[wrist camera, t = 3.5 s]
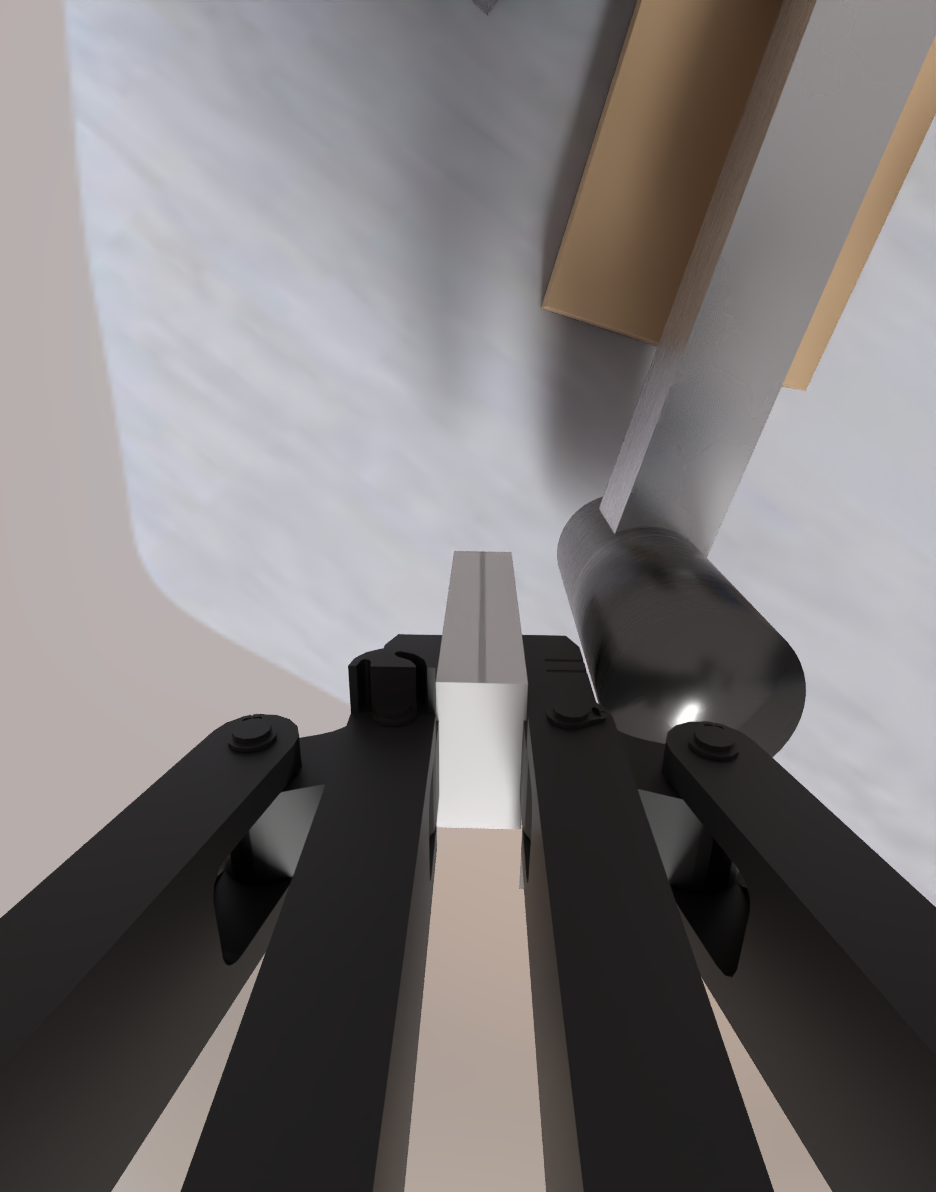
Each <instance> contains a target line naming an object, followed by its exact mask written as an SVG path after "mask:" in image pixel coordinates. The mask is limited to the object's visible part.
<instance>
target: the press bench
mask: <svg viewBox="0 0 936 1192" xmlns="http://www.w3.org/2000/svg"><path fill="white" fill-rule="evenodd" d="M783 1H784V0H637V2H636V6H635V9H634V12H633V15H632V18H631V22H630V25H629V28H628V31H627V34H626V38H625V41H624V44H623V47H622V50H621V54H620V57H619V60H618V63H617V66H616V70H615V73H614V76H613V79H612V82H611V86H610V89H609V92H608V95H607V98H606V102H605V105H604V108H603V111H602V114H601V118H600V121H599V124H598V127H597V130H596V134H595V137H594V140H593V143H592V146H591V150H590V153H589V156H588V159H587V162H586V166H585V169H584V172H583V175H582V178H581V182H580V185H579V188H578V191H577V194H576V198H575V201H574V204H573V207H572V210H571V214H570V217H569V220H568V223H567V226H566V230H565V233H564V236H563V239H562V242H561V246H560V249H559V252H558V255H557V258H556V262H555V265H554V268H553V271H552V274H551V278H550V281H549V284H548V287H547V290H546V294H545V297H544V300H543V303H542V306H541V308H543V309H546V310H549V311H552V312H555V313H558V314H561V315H564V316H567V317H570V318H573V319H576V320H579V321H582V322H585V323H588V324H591V325H594V326H597V327H601V328H604V329H607V330H610V331H613V332H616V333H619V334H622V335H625V336H628V337H631V338H634V339H637V340H640V341H643V342H646V343H649V344H652V345H655V346H658V345H659V342H660V339H661V336H662V334H663V331H664V328H665V325H666V323H667V320H668V317H669V314H670V312H671V309H672V306H673V303H674V301H675V298H676V295H677V292H678V290H679V287H680V284H681V281H682V279H683V276H684V273H685V270H686V268H687V265H688V262H689V259H690V257H691V254H692V251H693V248H694V246H695V243H696V240H697V237H698V235H699V232H700V229H701V226H702V224H703V221H704V218H705V215H706V213H707V210H708V207H709V204H710V202H711V199H712V196H713V193H714V191H715V188H716V185H717V182H718V180H719V177H720V174H721V171H722V169H723V166H724V163H725V160H726V158H727V155H728V152H729V149H730V147H731V144H732V141H733V138H734V136H735V133H736V130H737V127H738V125H739V122H740V119H741V116H742V114H743V111H744V108H745V105H746V103H747V100H748V97H749V94H750V92H751V89H752V86H753V83H754V81H755V78H756V75H757V72H758V70H759V67H760V64H761V61H762V59H763V56H764V53H765V50H766V48H767V45H768V42H769V39H770V37H771V34H772V31H773V28H774V26H775V23H776V20H777V17H778V15H779V12H780V9H781V6H782V4H783ZM935 114H936V35H935V38H934V40H933V42H932V44H931V47H930V49H929V51H928V53H927V56H926V58H925V60H924V63H923V65H922V67H921V69H920V72H919V74H918V76H917V79H916V81H915V83H914V85H913V88H912V90H911V92H910V95H909V97H908V99H907V101H906V104H905V106H904V108H903V111H902V113H901V115H900V117H899V120H898V122H897V124H896V127H895V129H894V131H893V133H892V136H891V138H890V140H889V142H888V145H887V147H886V149H885V152H884V154H883V156H882V158H881V161H880V163H879V165H878V168H877V170H876V172H875V174H874V177H873V179H872V181H871V184H870V186H869V188H868V190H867V193H866V195H865V197H864V200H863V202H862V204H861V206H860V209H859V211H858V213H857V216H856V218H855V220H854V222H853V225H852V227H851V229H850V231H849V234H848V236H847V238H846V241H845V243H844V245H843V247H842V250H841V252H840V254H839V257H838V259H837V261H836V263H835V266H834V268H833V270H832V273H831V275H830V277H829V279H828V282H827V284H826V286H825V289H824V291H823V293H822V295H821V298H820V300H819V302H818V305H817V307H816V309H815V311H814V314H813V316H812V318H811V321H810V323H809V325H808V327H807V330H806V332H805V334H804V336H803V339H802V341H801V343H800V346H799V348H798V350H797V352H796V355H795V357H794V359H793V362H792V364H791V366H790V368H789V371H788V373H787V375H786V378H785V380H784V382H783V384H782V387H788V388H793V389H799V390H804V391H806V389H807V387H808V385H809V383H810V380H811V378H812V376H813V374H814V372H815V370H816V368H817V366H818V363H819V361H820V359H821V357H822V355H823V353H824V351H825V348H826V346H827V344H828V342H829V340H830V338H831V336H832V334H833V331H834V329H835V327H836V325H837V323H838V321H839V319H840V317H841V314H842V312H843V310H844V308H845V306H846V304H847V302H848V299H849V297H850V295H851V293H852V291H853V289H854V287H855V285H856V282H857V280H858V278H859V276H860V274H861V272H862V270H863V268H864V265H865V263H866V261H867V259H868V257H869V255H870V253H871V250H872V248H873V246H874V244H875V242H876V240H877V238H878V236H879V233H880V231H881V229H882V227H883V225H884V223H885V221H886V218H887V216H888V214H889V212H890V210H891V208H892V206H893V204H894V201H895V199H896V197H897V195H898V193H899V191H900V189H901V187H902V184H903V182H904V180H905V178H906V176H907V174H908V172H909V169H910V167H911V165H912V163H913V161H914V159H915V157H916V155H917V152H918V150H919V148H920V146H921V144H922V142H923V140H924V138H925V135H926V133H927V131H928V129H929V127H930V125H931V123H932V120H933V118H934V116H935Z"/></svg>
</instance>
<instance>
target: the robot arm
mask: <svg viewBox="0 0 936 1192" xmlns="http://www.w3.org/2000/svg"><path fill="white" fill-rule="evenodd" d="M348 671H349V688H350V704H351V715H350V718H349V721H348V723H347V726H345V727H343V728H341V729H338V730H336V731H333V732H328V733H324V734H320V735H314V736H308V737H303V738H299V733H298V727H297V725H295V724H294V723H293V722H292V721H291V720H290V719H287V718H284V717H281V716H278V715H265V714H254V715H252V716H251V715H248V716H243V717H241V718H238V719H236V720H233V721H230V722H227V723H225V724H224V725H222V726H221V727H219V728H217V729H216V730H214V731H213V732H212V733H211V734H210V735H208V736H207V737H206V738H205V739H204V740H203V741H202V742H201V743H199V744H198V745H197V746H196V747H195V748H194V749H192V750H191V751H190V752H189V753H188V754H187V755H186V756H184V757H183V758H182V759H181V760H180V761H179V762H178V763H177V764H175V765H174V766H173V767H172V768H171V769H170V770H169V771H167V772H166V773H165V774H164V775H163V776H162V777H161V778H159V779H158V780H157V781H156V782H155V783H154V784H153V785H151V786H150V787H149V788H148V789H147V790H146V791H145V792H144V793H142V794H141V795H140V796H139V797H138V798H137V799H136V800H135V801H133V802H132V803H131V804H130V805H129V806H128V807H126V808H125V809H124V810H123V811H122V812H121V813H120V814H118V815H117V816H116V817H115V818H114V819H113V820H112V821H111V822H109V824H107V825H106V826H105V827H104V828H103V829H102V830H100V831H99V832H98V833H97V834H96V835H95V836H94V837H92V838H91V839H90V840H89V841H88V842H87V843H85V844H84V845H83V846H82V847H81V848H80V849H79V850H78V851H76V852H75V853H74V854H73V855H72V856H71V857H70V858H68V859H67V860H66V861H65V862H64V863H63V864H62V865H61V866H59V867H58V868H57V869H56V870H55V871H54V872H53V873H51V874H50V875H49V876H48V877H47V878H46V879H45V880H43V881H42V882H41V883H40V884H39V885H38V886H37V887H36V888H34V889H33V890H32V891H31V892H30V893H29V894H27V895H26V896H25V897H24V898H23V899H22V900H21V901H19V903H17V904H16V905H15V906H14V907H13V908H12V909H10V910H9V911H8V912H7V913H6V914H5V915H4V916H2V917H1V918H0V1192H111V1191H112V1189H113V1188H114V1186H115V1185H116V1183H117V1182H118V1180H119V1179H120V1177H121V1176H122V1174H123V1172H124V1171H125V1169H126V1168H127V1166H128V1165H129V1163H130V1162H131V1160H132V1158H133V1157H134V1155H135V1154H136V1152H137V1151H138V1149H139V1147H140V1146H141V1144H142V1143H143V1141H144V1140H145V1138H146V1137H147V1135H148V1134H149V1132H150V1131H151V1129H152V1127H153V1126H154V1124H155V1123H156V1121H157V1120H158V1118H159V1117H160V1115H161V1113H162V1112H163V1110H164V1109H165V1107H166V1106H167V1104H168V1103H169V1101H170V1100H171V1098H172V1096H173V1095H174V1093H175V1092H176V1090H177V1089H178V1087H179V1086H180V1084H181V1082H182V1081H183V1079H184V1078H185V1076H186V1075H187V1073H188V1071H189V1070H190V1068H191V1067H192V1065H193V1064H194V1062H195V1061H196V1059H197V1058H198V1056H199V1054H200V1053H201V1051H202V1050H203V1048H204V1047H205V1045H206V1044H207V1042H208V1040H209V1039H210V1037H211V1036H212V1034H213V1033H214V1031H215V1030H216V1028H217V1027H218V1025H219V1023H220V1022H221V1020H222V1019H223V1017H224V1016H225V1014H226V1013H227V1011H228V1010H229V1008H230V1006H231V1005H232V1003H233V1002H234V1000H235V999H236V997H237V995H238V994H239V992H240V991H241V989H242V988H243V986H244V985H245V983H246V982H247V980H248V979H249V977H250V975H251V974H252V972H253V971H254V969H255V968H256V966H257V965H258V963H259V961H260V960H261V958H262V957H263V955H264V954H265V956H264V959H263V962H262V965H261V968H260V970H259V973H258V976H257V979H256V981H255V984H254V987H253V990H252V993H251V995H250V998H249V1001H248V1004H247V1007H246V1010H245V1012H244V1015H243V1018H242V1021H241V1024H240V1026H239V1029H238V1032H237V1035H236V1038H235V1041H234V1043H233V1046H232V1049H231V1052H230V1054H229V1057H228V1060H227V1063H226V1066H225V1069H224V1071H223V1074H222V1077H221V1080H220V1083H219V1085H218V1088H217V1091H216V1094H215V1097H214V1100H213V1102H212V1105H211V1108H210V1111H209V1113H208V1116H207V1120H206V1122H205V1125H204V1127H203V1131H202V1133H201V1136H200V1139H199V1142H198V1144H197V1147H196V1150H195V1153H194V1156H193V1158H192V1161H191V1164H190V1167H189V1170H188V1173H187V1175H186V1178H185V1181H184V1184H183V1187H182V1189H181V1192H404V1186H405V1176H406V1165H407V1154H408V1145H409V1134H410V1123H411V1113H412V1102H413V1092H414V1082H415V1071H416V1060H417V1050H418V1040H419V1029H420V1018H421V1009H422V998H423V988H424V977H425V966H426V956H427V946H428V934H429V924H430V914H431V904H432V894H433V883H434V873H435V862H436V852H437V833H436V832H437V827H456V828H491V829H521V817H522V826H523V827H522V847H521V866H520V867H521V868H520V887H519V889H524V895H525V908H526V922H527V936H528V949H529V962H530V977H531V990H532V1004H533V1018H534V1032H535V1044H536V1059H537V1071H538V1085H539V1100H540V1113H541V1127H542V1141H543V1154H544V1168H545V1181H546V1192H774V1190H773V1187H772V1184H771V1181H770V1178H769V1175H768V1172H767V1170H766V1166H765V1163H764V1161H763V1158H762V1155H761V1152H760V1149H759V1146H758V1143H757V1140H756V1137H755V1134H754V1131H753V1128H752V1125H751V1122H750V1119H749V1116H748V1113H747V1110H746V1108H745V1105H744V1102H743V1099H742V1096H741V1093H740V1090H739V1087H738V1084H737V1081H736V1078H735V1075H734V1072H733V1069H732V1066H731V1063H730V1061H729V1058H728V1055H727V1051H726V1048H725V1046H724V1043H723V1040H722V1037H721V1034H720V1031H719V1028H718V1025H717V1022H716V1019H715V1016H714V1013H713V1010H712V1007H711V1005H710V1001H709V998H708V995H707V993H706V990H705V987H704V984H703V981H702V979H703V980H704V982H705V984H706V985H707V987H708V989H709V990H710V992H711V993H712V995H713V997H714V998H715V1000H716V1001H717V1003H718V1005H719V1007H720V1008H721V1010H722V1011H723V1013H724V1015H725V1016H726V1018H727V1019H728V1021H729V1023H730V1024H731V1026H732V1028H733V1029H734V1031H735V1033H736V1034H737V1036H738V1038H739V1039H740V1041H741V1043H742V1044H743V1046H744V1048H745V1049H746V1051H747V1052H748V1054H749V1056H750V1057H751V1059H752V1061H753V1062H754V1064H755V1065H756V1067H757V1069H758V1070H759V1072H760V1074H761V1075H762V1077H763V1078H764V1080H765V1082H766V1084H767V1085H768V1086H769V1088H770V1090H771V1092H772V1093H773V1095H774V1097H775V1098H776V1100H777V1102H778V1103H779V1105H780V1106H781V1108H782V1110H783V1111H784V1113H785V1115H786V1116H787V1118H788V1119H789V1121H790V1123H791V1124H792V1126H793V1128H794V1129H795V1131H796V1133H797V1134H798V1136H799V1137H800V1139H801V1141H802V1143H803V1144H804V1146H805V1147H806V1149H807V1151H808V1152H809V1154H810V1156H811V1157H812V1159H813V1160H814V1162H815V1164H816V1165H817V1167H818V1169H819V1170H820V1172H821V1174H822V1175H823V1177H824V1179H825V1180H826V1182H827V1183H828V1185H829V1187H830V1188H831V1190H832V1192H936V907H935V906H934V905H933V904H931V903H930V902H929V901H928V900H927V899H926V898H925V897H924V896H923V895H922V894H921V893H919V892H918V891H917V890H916V889H915V888H914V887H913V886H912V885H911V884H910V883H909V882H907V881H906V880H905V879H904V878H903V877H902V876H901V875H900V874H899V873H898V872H897V871H895V870H894V869H893V868H892V867H891V866H890V865H889V864H888V863H887V862H886V861H885V860H883V859H882V858H881V857H880V856H879V855H878V854H877V853H876V852H875V851H874V850H873V849H871V848H870V847H869V846H868V845H867V844H866V843H865V842H864V841H863V840H862V839H861V838H859V837H858V836H857V835H856V834H855V833H854V832H853V831H852V830H851V829H850V828H848V827H847V826H846V825H845V824H844V823H843V822H842V821H841V820H840V819H839V818H838V817H836V816H835V815H834V814H833V813H832V812H831V811H830V810H829V809H828V808H827V807H826V806H824V805H823V804H822V803H821V802H820V801H819V800H818V799H817V798H816V797H815V796H814V795H812V794H811V793H810V792H809V791H808V790H807V789H806V788H805V787H804V786H803V785H802V784H800V783H799V782H798V781H797V780H796V779H795V778H794V777H793V776H792V775H791V774H790V773H788V772H787V771H786V770H785V769H784V768H783V767H782V766H781V765H780V764H779V763H778V762H776V761H775V760H774V759H773V758H772V757H771V756H770V755H769V754H768V753H767V752H766V751H764V750H763V749H762V748H761V747H760V746H759V745H758V744H757V743H756V742H755V741H753V740H752V739H751V738H749V737H748V736H746V735H745V734H743V733H742V732H740V731H738V730H735V729H733V728H730V727H728V726H726V725H723V724H719V723H713V722H708V721H702V722H686V723H682V724H678V725H675V726H674V727H673V728H672V729H670V730H669V731H668V732H667V737H666V743H665V744H663V743H658V742H654V741H649V740H644V739H640V738H637V737H633V736H630V735H627V734H625V733H623V732H620V731H618V730H617V727H616V724H615V721H614V718H613V717H612V715H611V714H610V713H609V711H608V710H607V709H606V708H604V707H603V706H601V705H599V704H598V703H596V700H595V697H594V694H593V691H592V687H591V684H590V681H589V678H588V674H587V673H586V668H585V664H584V662H583V658H582V655H581V651H580V648H579V647H578V646H577V645H576V644H575V643H574V642H572V641H571V640H570V639H569V638H568V637H566V636H549V635H522V633H521V625H520V617H519V609H518V601H517V593H516V585H515V577H514V569H513V561H512V553H511V552H476V551H454V556H453V563H452V570H451V577H450V585H449V592H448V599H447V606H446V613H445V620H444V627H443V634H442V635H406V634H398V635H397V636H396V637H394V638H393V639H392V640H391V641H389V642H388V643H387V644H386V645H385V646H384V649H378V650H374V651H370V652H366V653H364V654H362V655H360V656H358V657H356V658H354V660H353V661H352V662H351V663H350V664H349V665H348ZM265 952H266V953H265ZM701 977H702V978H701Z"/></svg>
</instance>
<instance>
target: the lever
mask: <svg viewBox="0 0 936 1192" xmlns="http://www.w3.org/2000/svg"><path fill="white" fill-rule="evenodd" d="M935 35H936V0H784V1H783V4H782V6H781V9H780V12H779V15H778V17H777V20H776V23H775V26H774V28H773V31H772V34H771V37H770V39H769V42H768V45H767V48H766V50H765V53H764V56H763V59H762V61H761V64H760V67H759V70H758V72H757V75H756V78H755V81H754V83H753V86H752V89H751V92H750V94H749V97H748V100H747V103H746V105H745V108H744V111H743V114H742V116H741V119H740V122H739V125H738V127H737V130H736V133H735V136H734V138H733V141H732V144H731V147H730V149H729V152H728V155H727V158H726V160H725V163H724V166H723V169H722V171H721V174H720V177H719V180H718V182H717V185H716V188H715V191H714V193H713V196H712V199H711V202H710V204H709V207H708V210H707V213H706V215H705V218H704V221H703V224H702V226H701V229H700V232H699V235H698V237H697V240H696V243H695V246H694V248H693V251H692V254H691V257H690V259H689V262H688V265H687V268H686V270H685V273H684V276H683V279H682V281H681V284H680V287H679V290H678V292H677V295H676V298H675V301H674V303H673V306H672V309H671V312H670V314H669V317H668V320H667V323H666V325H665V328H664V331H663V334H662V336H661V339H660V342H659V345H658V347H657V350H656V353H655V356H654V358H653V361H652V364H651V367H650V369H649V372H648V375H647V378H646V380H645V383H644V386H643V389H642V391H641V394H640V397H639V400H638V402H637V405H636V408H635V411H634V413H633V416H632V419H631V422H630V424H629V427H628V430H627V433H626V435H625V438H624V441H623V444H622V446H621V449H620V452H619V455H618V457H617V460H616V463H615V466H614V468H613V471H612V474H611V477H610V479H609V482H608V485H607V488H606V490H605V493H604V496H603V497H601V498H598V499H596V500H593V501H591V502H589V503H588V504H586V505H584V506H583V507H582V508H580V509H579V510H578V511H577V512H576V513H575V514H574V515H573V516H572V517H571V518H570V519H569V521H568V522H567V524H566V525H565V527H564V529H563V531H562V533H561V536H560V539H559V543H558V549H557V560H558V566H559V569H560V573H561V576H562V580H563V583H564V587H565V590H566V593H567V597H568V600H569V604H570V607H571V610H572V614H573V617H574V621H575V624H576V628H577V631H578V634H579V638H580V641H581V645H582V648H583V651H584V655H585V658H586V662H587V665H588V669H589V672H590V675H591V679H592V682H593V686H594V689H595V692H596V696H597V699H598V703H599V705H601V706H603V707H604V708H606V709H607V710H608V711H609V713H610V714H611V715H612V717H613V718H614V721H615V724H616V727H617V730H618V731H620V732H623V733H625V734H627V735H630V736H633V737H637V738H640V739H644V740H649V741H654V742H658V743H663V744H665V743H666V737H667V732H668V731H669V730H670V729H672V728H673V727H674V726H675V725H678V724H682V723H686V722H702V721H708V722H713V723H719V724H723V725H726V726H728V727H730V728H733V729H735V730H738V731H740V732H742V733H743V734H745V735H746V736H748V737H749V738H751V739H752V740H753V741H755V742H756V743H757V744H758V745H759V746H760V747H761V748H762V749H763V750H764V751H766V752H767V753H768V754H769V755H770V756H771V757H773V756H774V755H775V754H776V753H777V752H779V751H780V750H781V749H782V747H783V746H784V745H785V744H786V742H787V741H788V740H789V739H790V737H791V736H792V734H793V732H794V731H795V729H796V727H797V725H798V723H799V721H800V718H801V715H802V712H803V709H804V704H805V697H806V683H805V677H804V672H803V669H802V666H801V663H800V661H799V659H798V657H797V655H796V653H795V652H794V650H793V649H792V648H791V646H790V645H789V644H788V642H787V641H786V640H785V639H784V638H783V637H782V636H781V635H780V634H779V633H778V632H777V631H776V630H775V629H774V628H773V627H772V626H771V625H770V624H769V623H768V621H767V620H766V619H765V618H764V617H763V616H762V615H761V614H760V613H759V612H758V611H757V610H756V609H755V608H754V607H753V606H752V605H751V604H750V603H749V602H748V601H747V600H746V599H745V598H744V596H743V595H742V594H741V593H740V592H739V591H738V590H737V589H736V588H735V587H734V586H733V585H732V584H731V583H730V582H729V581H728V580H727V579H726V578H725V577H724V576H723V575H722V574H721V572H720V571H719V570H718V569H717V568H716V567H715V566H714V565H713V564H712V563H711V562H710V561H709V560H708V559H707V556H708V553H709V551H710V549H711V546H712V544H713V542H714V540H715V537H716V535H717V533H718V530H719V528H720V526H721V524H722V521H723V519H724V517H725V515H726V512H727V510H728V508H729V505H730V503H731V501H732V499H733V496H734V494H735V492H736V489H737V487H738V485H739V483H740V480H741V478H742V476H743V473H744V471H745V469H746V467H747V464H748V462H749V460H750V457H751V455H752V453H753V451H754V448H755V446H756V444H757V441H758V439H759V437H760V435H761V432H762V430H763V428H764V425H765V423H766V421H767V419H768V416H769V414H770V412H771V410H772V407H773V405H774V403H775V400H776V398H777V396H778V394H779V391H780V389H781V387H782V384H783V382H784V380H785V378H786V375H787V373H788V371H789V368H790V366H791V364H792V362H793V359H794V357H795V355H796V352H797V350H798V348H799V346H800V343H801V341H802V339H803V336H804V334H805V332H806V330H807V327H808V325H809V323H810V321H811V318H812V316H813V314H814V311H815V309H816V307H817V305H818V302H819V300H820V298H821V295H822V293H823V291H824V289H825V286H826V284H827V282H828V279H829V277H830V275H831V273H832V270H833V268H834V266H835V263H836V261H837V259H838V257H839V254H840V252H841V250H842V247H843V245H844V243H845V241H846V238H847V236H848V234H849V231H850V229H851V227H852V225H853V222H854V220H855V218H856V216H857V213H858V211H859V209H860V206H861V204H862V202H863V200H864V197H865V195H866V193H867V190H868V188H869V186H870V184H871V181H872V179H873V177H874V174H875V172H876V170H877V168H878V165H879V163H880V161H881V158H882V156H883V154H884V152H885V149H886V147H887V145H888V142H889V140H890V138H891V136H892V133H893V131H894V129H895V127H896V124H897V122H898V120H899V117H900V115H901V113H902V111H903V108H904V106H905V104H906V101H907V99H908V97H909V95H910V92H911V90H912V88H913V85H914V83H915V81H916V79H917V76H918V74H919V72H920V69H921V67H922V65H923V63H924V60H925V58H926V56H927V53H928V51H929V49H930V47H931V44H932V42H933V40H934V38H935Z"/></svg>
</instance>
